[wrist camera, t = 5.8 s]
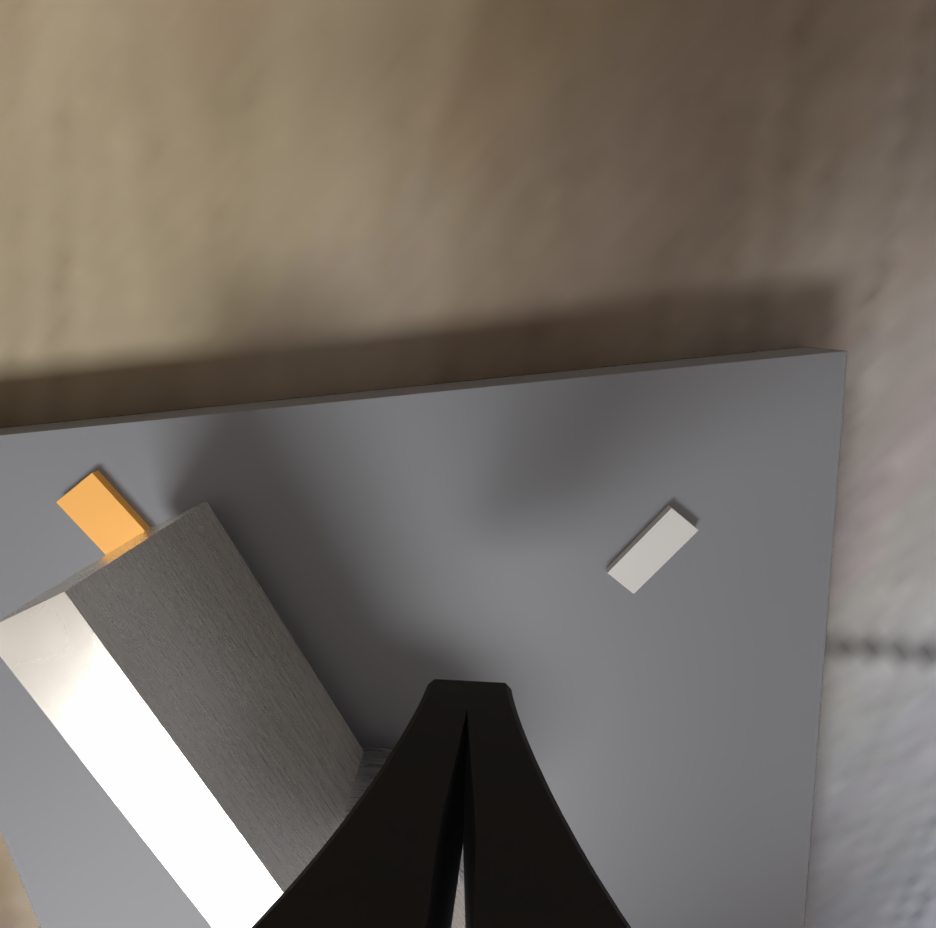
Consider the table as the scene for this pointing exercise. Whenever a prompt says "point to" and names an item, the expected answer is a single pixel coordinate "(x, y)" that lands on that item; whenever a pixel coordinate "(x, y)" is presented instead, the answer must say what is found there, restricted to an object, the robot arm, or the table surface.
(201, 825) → the lever handle
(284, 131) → the table surface
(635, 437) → the panel
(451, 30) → the table surface
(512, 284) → the table surface
